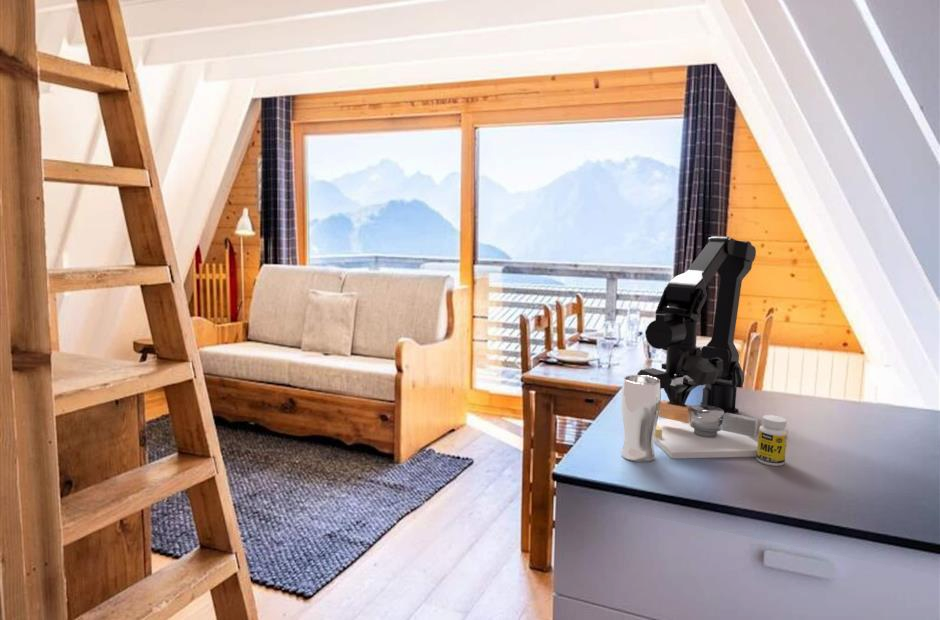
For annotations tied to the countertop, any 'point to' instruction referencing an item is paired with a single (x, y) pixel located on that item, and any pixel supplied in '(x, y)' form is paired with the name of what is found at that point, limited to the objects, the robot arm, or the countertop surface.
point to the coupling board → (701, 441)
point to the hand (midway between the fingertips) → (677, 413)
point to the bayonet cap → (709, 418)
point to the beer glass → (640, 416)
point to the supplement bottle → (772, 440)
